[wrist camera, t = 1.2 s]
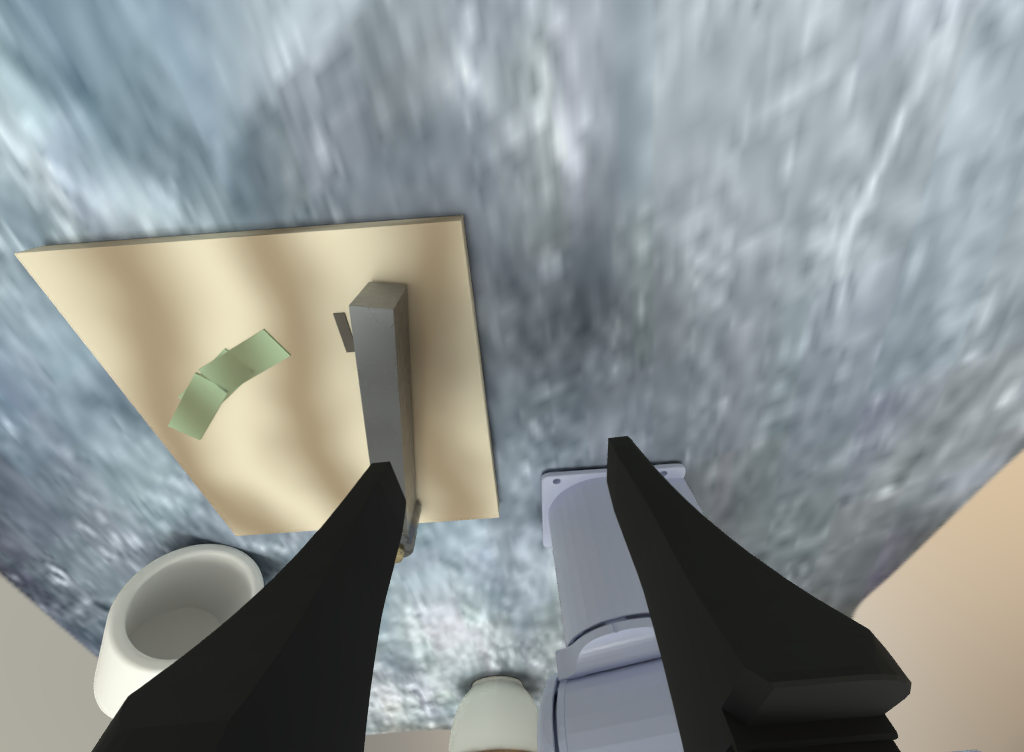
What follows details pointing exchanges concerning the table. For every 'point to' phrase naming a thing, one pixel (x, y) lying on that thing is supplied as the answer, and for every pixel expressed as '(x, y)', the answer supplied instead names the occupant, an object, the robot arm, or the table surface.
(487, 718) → the lidded jar
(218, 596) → the mug
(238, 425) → the board
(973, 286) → the table surface
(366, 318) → the pointer
